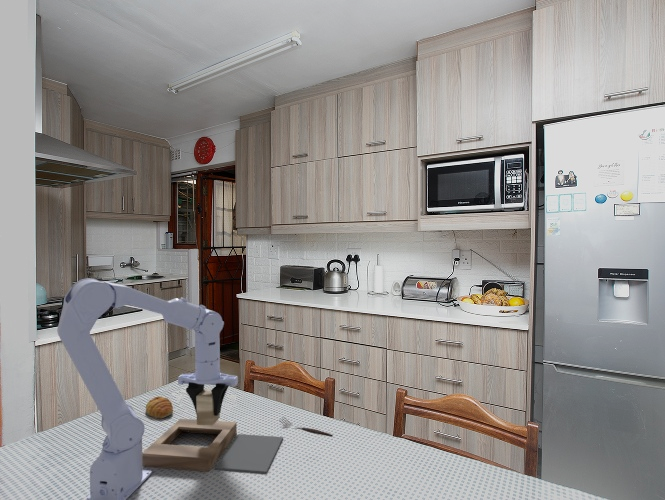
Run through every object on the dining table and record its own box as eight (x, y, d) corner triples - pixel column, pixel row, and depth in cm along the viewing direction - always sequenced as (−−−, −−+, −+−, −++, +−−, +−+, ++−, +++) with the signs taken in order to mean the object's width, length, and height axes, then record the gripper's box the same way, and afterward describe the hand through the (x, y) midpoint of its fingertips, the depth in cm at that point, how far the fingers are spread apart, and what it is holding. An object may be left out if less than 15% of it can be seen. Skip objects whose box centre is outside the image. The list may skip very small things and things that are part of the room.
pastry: (179, 414, 106) (178, 401, 106) (155, 423, 101) (155, 410, 101) (165, 404, 113) (165, 392, 113) (143, 412, 108) (142, 400, 108)
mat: (266, 473, 79) (266, 471, 79) (214, 469, 80) (214, 467, 80) (282, 438, 93) (282, 437, 93) (238, 435, 94) (238, 434, 94)
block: (212, 425, 86) (212, 396, 85) (196, 424, 86) (196, 396, 86) (219, 417, 90) (219, 389, 89) (204, 416, 90) (204, 389, 90)
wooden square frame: (208, 471, 79) (208, 458, 79) (142, 466, 81) (141, 453, 81) (236, 433, 95) (236, 422, 95) (180, 429, 97) (180, 418, 97)
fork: (330, 440, 93) (330, 432, 93) (278, 427, 99) (278, 419, 99) (334, 435, 95) (334, 427, 95) (283, 422, 101) (283, 415, 101)
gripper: (242, 354, 91) (242, 407, 91) (188, 352, 92) (189, 404, 93) (231, 363, 83) (231, 421, 84) (172, 361, 85) (173, 417, 86)
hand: (208, 413), depth 88 cm, fingers closed on block, 4 cm apart
